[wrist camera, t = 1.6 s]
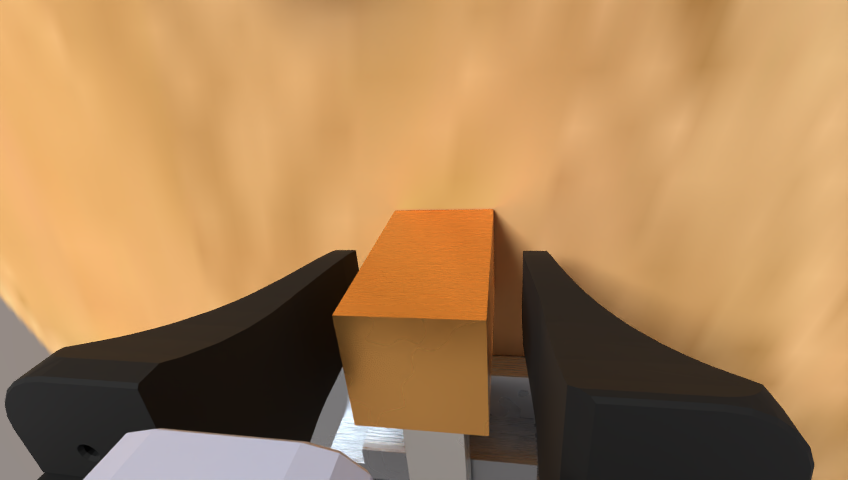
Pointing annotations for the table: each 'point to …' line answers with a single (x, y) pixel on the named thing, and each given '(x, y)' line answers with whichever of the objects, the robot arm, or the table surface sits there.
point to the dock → (490, 455)
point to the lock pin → (424, 336)
